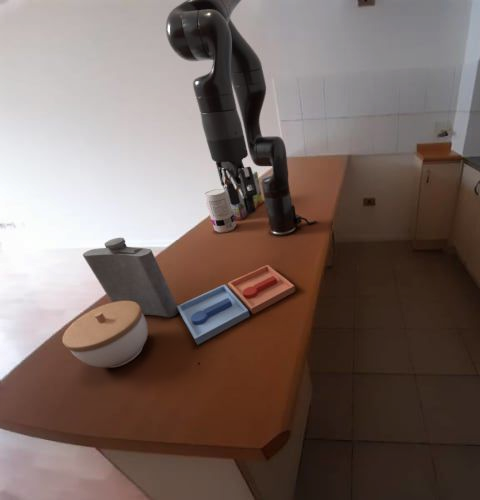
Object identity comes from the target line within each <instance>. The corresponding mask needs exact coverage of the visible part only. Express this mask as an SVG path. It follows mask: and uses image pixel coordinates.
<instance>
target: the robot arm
mask: <svg viewBox="0 0 480 500" xmlns="http://www.w3.org/2000/svg"><path fill="white" fill-rule="evenodd" d="M241 1H242V0H185V1H182V3H180V4H178V5H177V6H175V7H174V8H173V9H172V10H171V11H170V12H169V14H168V16H167V17H166V21H165V33H166V38H167V41H168V43H169V46H170V47H171V49H172V51H173V52H174V53H175V54H176V55H177V56H178V57H179V58H181V60H184V61H187V62H203V61H212V66H211V70H210V71H209V72H208V73H206V74H204V75H201V76H198V77H196V78H194V79H193V81H192V87H193V88H192V89H193V91H194V95H195V99H196V103H197V107H198V110H199V113H200V118H201V124H202V129H203V133H204V136H205V139H206V143H207V146H208V147H207V148H208V150H209V153H210V158H211V160H212V161H213V162H215V165H216V169H217V173H218V176H219V181H220V185H221V186H222V187H223V186H224V187H225V189H226V190H227V192H228V196H229V200H230V203H231V204H232V205H236V204H239V203H240V199H239V195H238V191H239V192H240V194H241V196H242V200H243V204H244V208H245V212H246V213H247V214H248V215H250V214H254V213H255V212H257V207H256V208H255V204H254V200H253V196H254V195H257V190H256V186H255V182H254V178H253V173H252V172H253V170H252V166H246V167H245V165H244V163H243V160H244V159H246V158H247V157H248V156H250V158H251V161H252V163H253V164H254V165H255V166H257V167H272V168H271V169H272V173H271V174H268V175H266V176H264V177H263V178H261V180H260V184H261V188H262V189H261V190H262V193H263V194H262V195H263V199H264V203H265V208H266V213H267V219H268V225H269V229H270V234H272V235H274V236H287V235H290V234H292V233H294V232H296V230H297V229H298V228H299V226H298V225H299V224H302V222H303V221H305V222H306V223H307V225H313V224H316V223H317V220H313V221H311V222H310V221H309V220H308V219H307V218H305V217H303V216H301V215H300V214H297V213H296V207H295V204H294V203H292V197H291V196H292V195H291V190H290V189H291V188H290V184H289V183H290V182H289V167H288V158H287V156H288V155H287V148H286V144H285V141H284V140H283V138H282V137H280V136H277V135H273V136H272V135H271V136H270V135H269V136H263V135H262V130H261V125H260V124H261V123H260V120H261V119H260V118H261V111H262V108H263V105H264V102H265V98H266V95H267V84H266V78H265V75H264V71H263V65H262V62H261V59H260V58H259V56H258V54H257V53H256V51H255V50H254V48H252V47H251V45H250V44H249V42H247V40H246V38H244V37H243V35H242V34H241V33H240V31H239V30H238V29H237V27H236V26H235V24H234V22H233V21H232V19H231V16H232V13H233V12H234V10H235V9H236V8H237V6H238V5H239V4H240V3H241ZM236 101H237V104H236ZM237 105H238V108H239V112H240V115H239V112H238V108H237ZM240 116H241V118H240ZM241 120H242V121H241ZM243 129H244V130H243ZM244 134H245V135H244ZM250 185H251V186H250ZM251 187H252V188H251ZM247 189H248V190H247ZM237 190H238V191H237Z"/></svg>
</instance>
